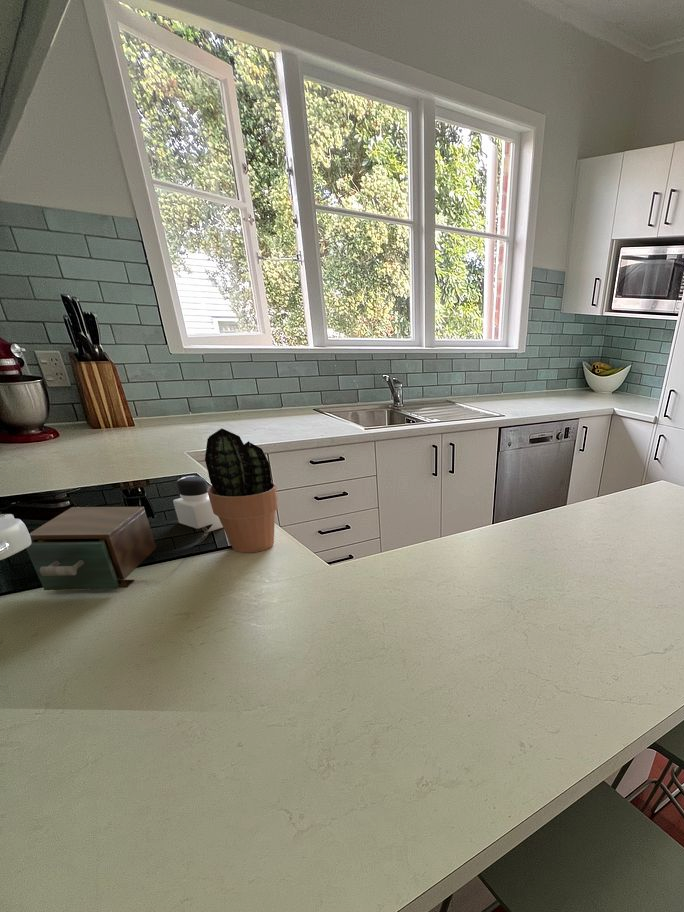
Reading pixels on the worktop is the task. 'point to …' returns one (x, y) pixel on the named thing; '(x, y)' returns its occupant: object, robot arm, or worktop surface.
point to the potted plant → (241, 491)
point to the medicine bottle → (195, 504)
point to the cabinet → (106, 533)
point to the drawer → (73, 564)
